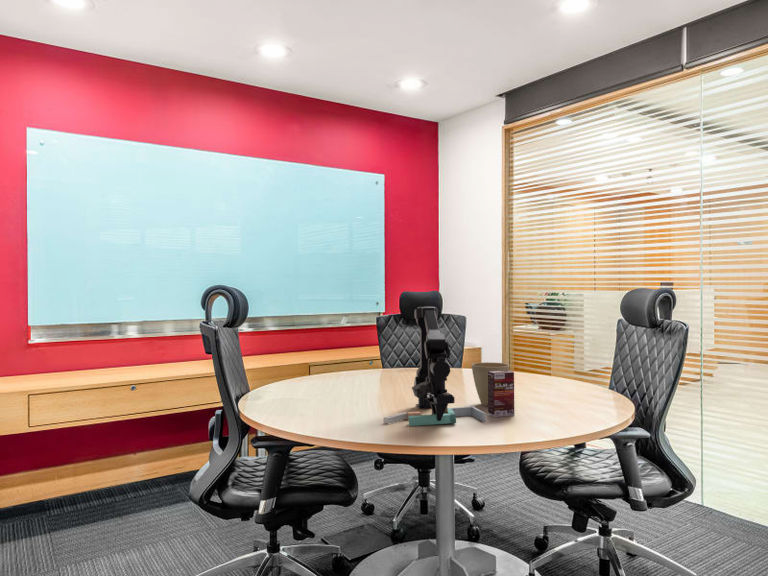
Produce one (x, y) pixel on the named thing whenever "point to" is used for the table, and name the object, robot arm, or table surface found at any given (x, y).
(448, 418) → the crook
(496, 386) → the supplement box
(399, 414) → the stick
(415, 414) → the offcut
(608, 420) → the table surface
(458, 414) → the gray angle bracket
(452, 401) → the robot arm
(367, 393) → the table surface
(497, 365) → the plant pot
